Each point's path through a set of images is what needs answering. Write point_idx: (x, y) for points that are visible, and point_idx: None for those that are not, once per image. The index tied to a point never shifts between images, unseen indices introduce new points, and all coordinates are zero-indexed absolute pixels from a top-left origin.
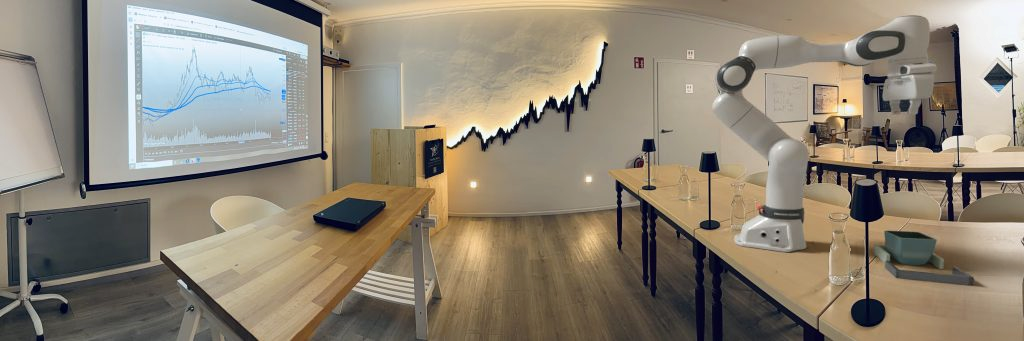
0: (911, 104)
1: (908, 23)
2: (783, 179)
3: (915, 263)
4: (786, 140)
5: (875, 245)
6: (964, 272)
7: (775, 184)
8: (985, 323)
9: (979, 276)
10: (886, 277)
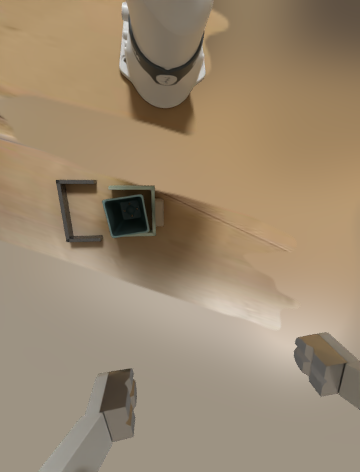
0: (44, 468)
1: None
2: None
3: (120, 213)
4: None
5: (149, 186)
6: (81, 240)
7: None
8: None
9: (108, 255)
10: (61, 171)
